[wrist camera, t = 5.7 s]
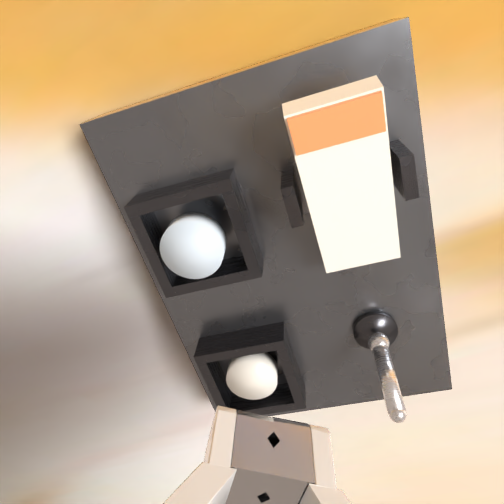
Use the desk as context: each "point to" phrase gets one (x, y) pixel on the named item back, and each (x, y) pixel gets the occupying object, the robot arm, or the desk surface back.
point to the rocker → (346, 172)
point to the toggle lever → (387, 376)
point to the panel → (282, 228)
